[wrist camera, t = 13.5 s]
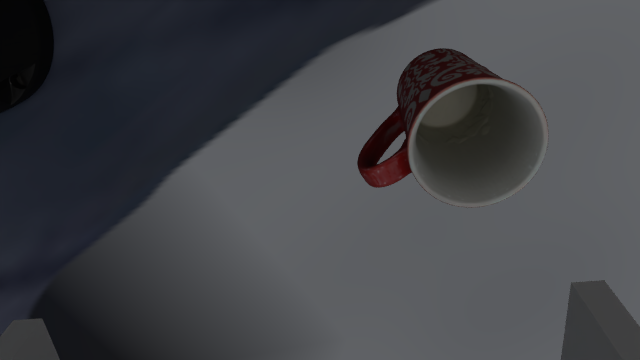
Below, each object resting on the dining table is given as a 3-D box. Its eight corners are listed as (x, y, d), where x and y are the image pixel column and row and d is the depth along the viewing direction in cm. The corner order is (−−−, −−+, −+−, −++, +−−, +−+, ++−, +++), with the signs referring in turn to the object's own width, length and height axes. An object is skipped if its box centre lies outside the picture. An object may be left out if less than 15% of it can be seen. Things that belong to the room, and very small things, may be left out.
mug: (472, 16, 43) (527, 53, 31) (504, 112, 47) (565, 178, 35) (332, 80, 46) (333, 137, 34) (373, 166, 49) (387, 245, 37)
